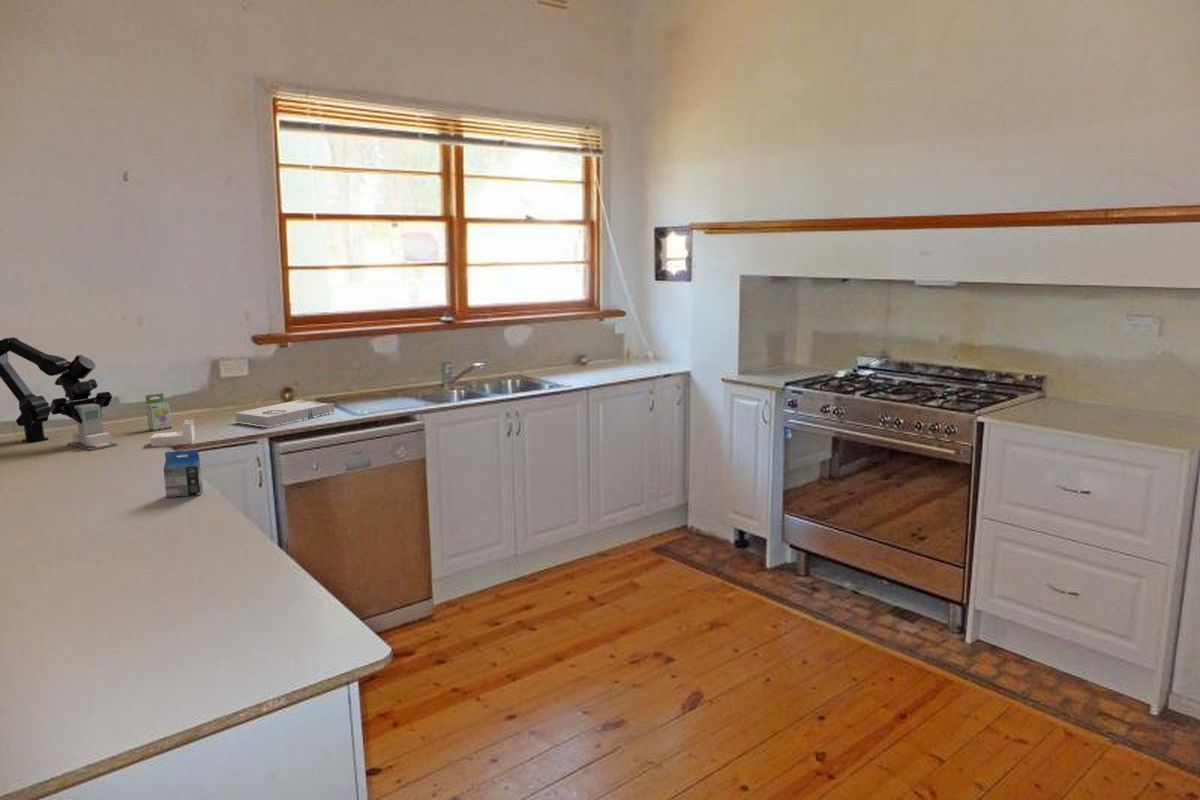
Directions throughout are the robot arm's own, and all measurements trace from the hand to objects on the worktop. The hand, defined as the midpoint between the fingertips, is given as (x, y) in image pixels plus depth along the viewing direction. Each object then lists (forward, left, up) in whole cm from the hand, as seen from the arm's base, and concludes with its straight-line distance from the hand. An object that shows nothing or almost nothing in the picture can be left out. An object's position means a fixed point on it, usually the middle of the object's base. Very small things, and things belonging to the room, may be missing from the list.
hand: (91, 421), depth 292 cm
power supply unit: (+16, +66, -10) cm, 69 cm away
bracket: (+20, +17, -9) cm, 28 cm away
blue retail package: (+86, -14, -9) cm, 87 cm away
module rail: (-1, 0, -9) cm, 9 cm away
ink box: (-7, +27, -9) cm, 29 cm away
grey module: (-1, 0, -7) cm, 7 cm away
